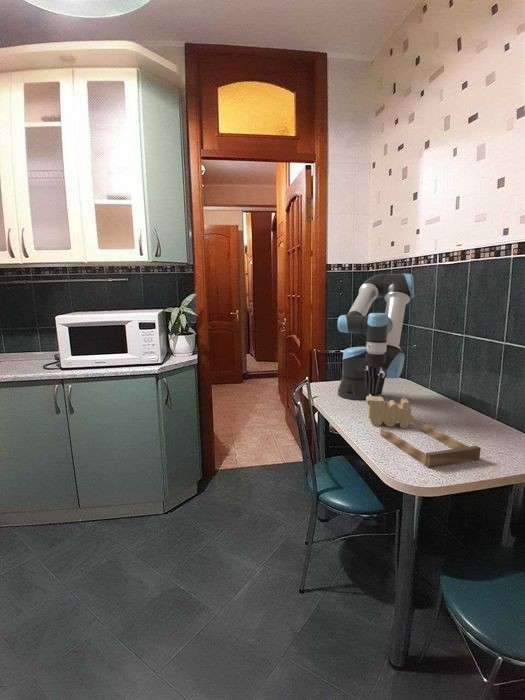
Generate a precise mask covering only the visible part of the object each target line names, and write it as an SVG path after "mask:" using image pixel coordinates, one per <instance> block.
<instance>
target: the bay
mask: <svg viewBox="0 0 525 700" xmlns="http://www.w3.org/2000/svg"><path fill="white" fill-rule="evenodd" d="M419 429H420V430H419V431H420V432H422V433H425V435H428V436H430V437H431V438H433V439H435V440H436V441H439V442H440V443H442V444H443V445H446V446H447V447H449V448H451V449H445V450H436V451H429V452H426V453H425V452H422V450H420V449H418V448H416V447H415V446H414V445H412V444H411V443H409V442H407V441H406V440H404V439H403V438H401V437H399V436H397V435H396V434H394V433H393V432H391V430H388V429H386V427H383V428H381V427H380V432H379V433H380V434H379V435H380V436H381V437H382V438H384V439H385V440H387V441H388V442H390V443H391V444H392V445H394V446H395V447H397V448H398V449H400V450H402V452H404V453H405V454H407V455H409V456H410V457H411V458H413V459H414V460H416V461H417V462H419V463H420V464H422V465H423V466H424V467H426V468H428V469H433V468H438V467H446V466H451V465H459V464H464V463H472V462H477V461H480V457H481V451H482V450H481V447H480V446H478V445H472V446H469V445H467V444H464V443H463V442H462V441H459V440H457V439H455V438H453V437H451V436H450V435H448V434H445V433H444V432H441V431H439V430H438V429H436V428H434V427H432V426H430V425H428V424H426V423H420V428H419Z"/></svg>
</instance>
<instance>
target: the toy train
mask: <svg viewBox="0 0 525 700" xmlns="http://www.w3.org/2000/svg"><path fill="white" fill-rule="evenodd" d="M365 400H366V403H367V405H368V408H367V409H368V410H367V413H368V414H367V415H368V419H369V420H370V422H371V424H372V425H373V426H374V427H378V426H381V425H382V424H383V423H384V424H385V425H386V426H387V427H394V426H395V424H396V423H399V426H400V428H402V429H407V428H408V427H409V424H414V423H415V422H416V420H415V418H414V417H413V415H412V408H411V407H410V403H409V401H408V399H407V398H406V397H401V398H400V403H397V402H396V401H395V400H394V399H391V400H389V402H385V399H384V397H383V396H380V395H378V396H367V397H366V399H365Z"/></svg>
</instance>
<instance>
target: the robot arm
mask: <svg viewBox="0 0 525 700" xmlns="http://www.w3.org/2000/svg"><path fill="white" fill-rule="evenodd" d="M414 283H415V282H414V275H413V274H411V273H379V274H376V275H372V276H371V277H369V278H368V279H366V280H365V281H364V282H363V283H362V284H361V285H360V287H359V289H358V295H357V297H356V298H355V300H354V302H353V304H352V305H351V307H350V309H349V311H348V313H347V314H341V315H340V316H339V317H338V318H337V330H338V332H340V333H346V334H362V335H363V334H364V335H366V344H365V346H354V347H348V348H345V349H344V350H343V353H342V354H343V355H342V367H341V368H342V370H341V372H342V373H341V379H340V383H339V386H338V389H337V395H338V396H339V397H341V398H343V399H348V400H355V401H358V400H359V401H361V400H366V397H367V396H380V395H382V393H383V388H384V384H385V380H386V379H387V380H388V379H394V380H395V379H398V378H399V377H400V376H401V374H402V372H403V368H404V365H405V363H404V362H405V353H402V352H403V351H402V349H401V347H400V341H401V335H402V331H403V323H404V317H405V310H406V305H407V304H409V303H410V301H411V299H414V297H415V284H414ZM377 298H384V300H385V302H386V307H385V310H384V312H371V313H369V314H368V312H369V310H370V308H371V306H372V304H373V302H374V301H375V300H376V299H377ZM367 314H368V315H367Z"/></svg>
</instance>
